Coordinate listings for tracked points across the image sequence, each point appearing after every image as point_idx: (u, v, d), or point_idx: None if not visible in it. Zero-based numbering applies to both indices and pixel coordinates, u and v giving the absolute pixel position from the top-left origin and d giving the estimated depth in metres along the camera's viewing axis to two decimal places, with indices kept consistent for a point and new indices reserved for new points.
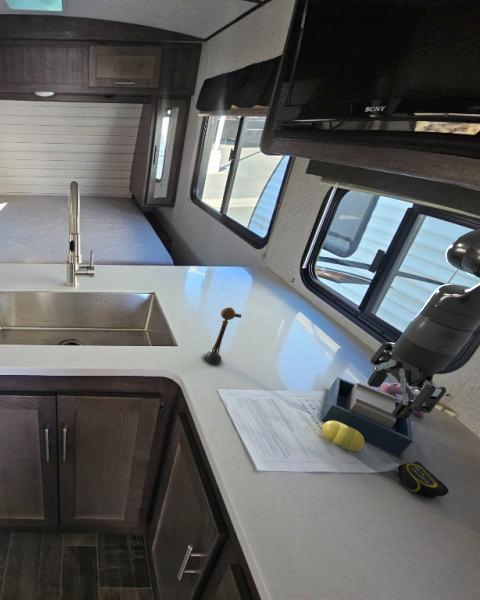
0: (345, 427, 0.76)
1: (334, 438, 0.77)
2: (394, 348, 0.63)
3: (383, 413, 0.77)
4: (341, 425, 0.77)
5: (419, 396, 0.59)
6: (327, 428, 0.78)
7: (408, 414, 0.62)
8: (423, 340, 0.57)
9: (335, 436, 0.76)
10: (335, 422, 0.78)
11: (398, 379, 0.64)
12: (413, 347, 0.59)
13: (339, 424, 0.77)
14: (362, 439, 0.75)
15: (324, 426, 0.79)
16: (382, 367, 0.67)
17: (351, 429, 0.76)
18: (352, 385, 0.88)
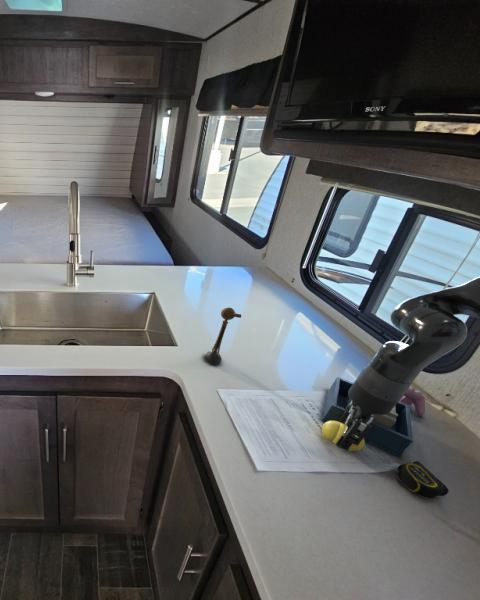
0: (345, 427, 0.76)
1: (334, 438, 0.77)
2: None
3: None
4: (341, 425, 0.77)
5: (350, 428, 0.69)
6: (327, 428, 0.78)
7: (346, 445, 0.72)
8: (363, 382, 0.68)
9: (335, 436, 0.76)
10: (335, 422, 0.78)
11: None
12: (356, 387, 0.70)
13: (339, 424, 0.77)
14: (362, 439, 0.75)
15: (324, 426, 0.79)
16: (347, 406, 0.76)
17: None
18: None
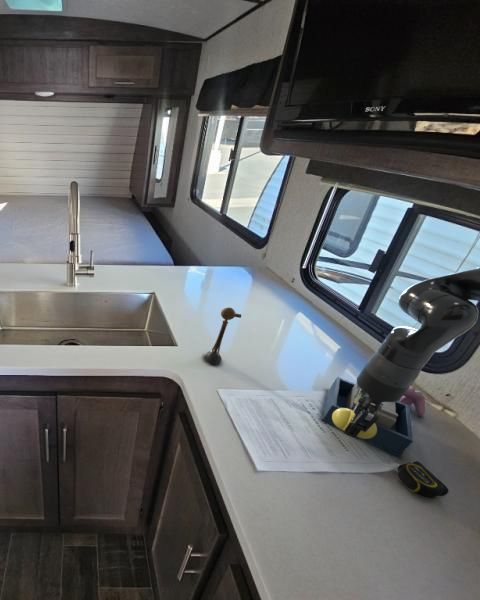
0: None
1: (344, 427, 0.74)
2: (359, 375, 0.72)
3: (383, 413, 0.77)
4: (352, 414, 0.74)
5: (357, 416, 0.69)
6: (337, 416, 0.75)
7: (354, 432, 0.72)
8: (371, 369, 0.67)
9: (345, 425, 0.74)
10: (345, 410, 0.75)
11: None
12: (365, 374, 0.68)
13: (350, 413, 0.74)
14: (374, 428, 0.72)
15: (334, 414, 0.76)
16: (355, 397, 0.75)
17: None
18: (352, 385, 0.88)
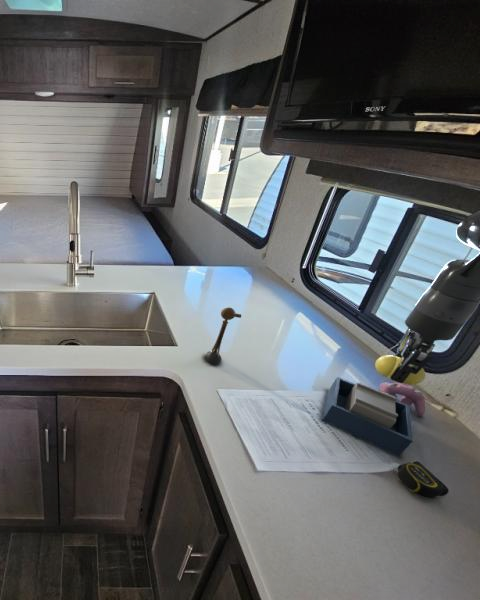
0: None
1: (390, 373, 0.72)
2: (407, 317, 0.69)
3: (383, 413, 0.77)
4: (398, 359, 0.71)
5: (408, 358, 0.66)
6: (382, 363, 0.73)
7: (402, 377, 0.69)
8: (423, 306, 0.64)
9: (391, 371, 0.71)
10: (391, 357, 0.72)
11: None
12: (416, 313, 0.66)
13: (396, 358, 0.72)
14: (422, 372, 0.69)
15: (378, 362, 0.74)
16: (401, 343, 0.72)
17: None
18: (352, 385, 0.88)
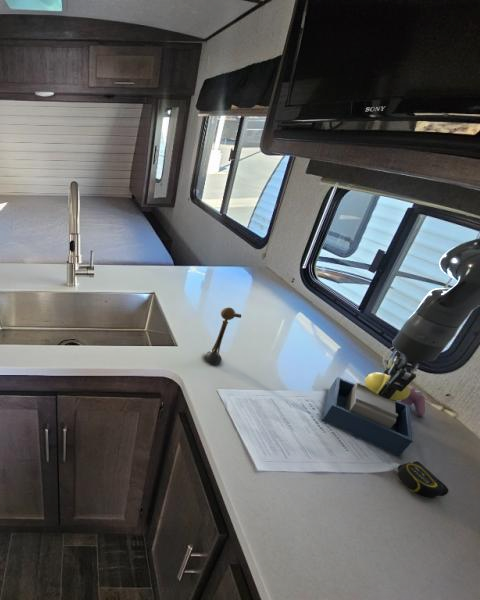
0: None
1: (378, 389, 0.77)
2: (394, 339, 0.75)
3: (383, 413, 0.77)
4: (385, 376, 0.77)
5: (394, 376, 0.72)
6: (370, 380, 0.78)
7: (389, 393, 0.75)
8: (408, 330, 0.70)
9: (379, 387, 0.77)
10: (379, 374, 0.78)
11: None
12: (402, 336, 0.71)
13: (383, 376, 0.77)
14: (408, 389, 0.75)
15: (367, 378, 0.79)
16: (388, 361, 0.78)
17: None
18: (352, 385, 0.88)
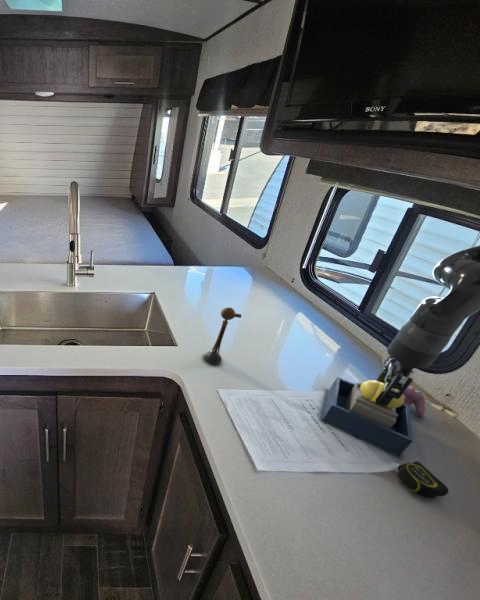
0: None
1: (372, 398, 0.79)
2: (389, 346, 0.76)
3: (383, 413, 0.77)
4: (380, 385, 0.78)
5: (391, 382, 0.72)
6: (365, 388, 0.80)
7: (386, 401, 0.75)
8: (403, 337, 0.71)
9: (374, 395, 0.78)
10: (374, 382, 0.79)
11: None
12: (396, 343, 0.72)
13: (378, 384, 0.78)
14: (402, 397, 0.76)
15: (362, 386, 0.81)
16: None
17: None
18: (352, 385, 0.88)
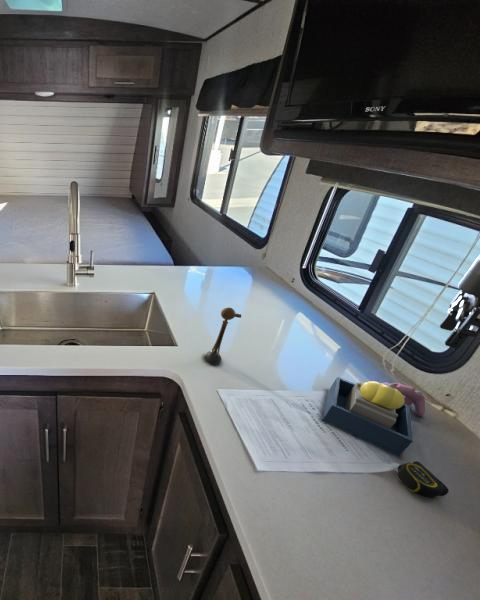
0: (384, 389, 0.77)
1: (371, 400, 0.79)
2: (459, 282, 0.69)
3: (383, 413, 0.77)
4: (380, 388, 0.78)
5: (466, 319, 0.65)
6: (364, 390, 0.79)
7: (459, 342, 0.68)
8: None
9: (373, 398, 0.78)
10: (374, 384, 0.78)
11: None
12: (471, 276, 0.66)
13: (378, 387, 0.78)
14: (401, 400, 0.76)
15: (362, 388, 0.80)
16: (452, 306, 0.72)
17: (390, 391, 0.77)
18: (352, 385, 0.88)
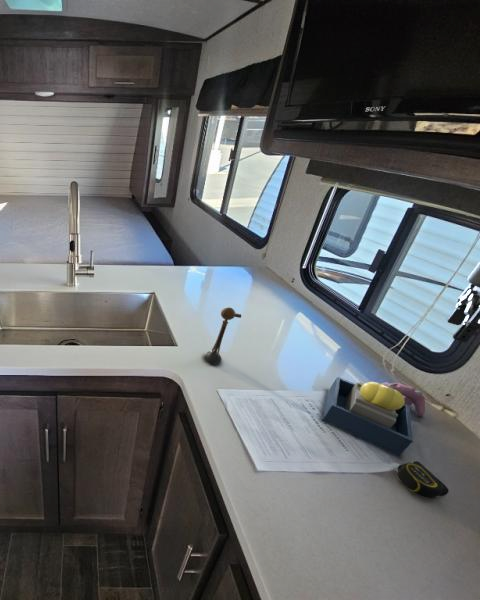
0: (383, 392, 0.77)
1: (370, 401, 0.79)
2: (469, 275, 0.69)
3: (383, 413, 0.77)
4: (379, 390, 0.77)
5: (475, 312, 0.65)
6: (364, 392, 0.79)
7: (467, 335, 0.68)
8: None
9: (372, 399, 0.78)
10: (373, 386, 0.78)
11: None
12: None
13: (377, 389, 0.77)
14: (401, 402, 0.75)
15: (362, 389, 0.80)
16: (460, 300, 0.72)
17: (390, 393, 0.76)
18: (352, 385, 0.88)
